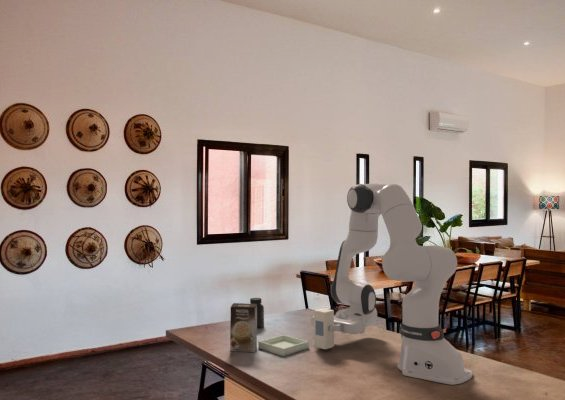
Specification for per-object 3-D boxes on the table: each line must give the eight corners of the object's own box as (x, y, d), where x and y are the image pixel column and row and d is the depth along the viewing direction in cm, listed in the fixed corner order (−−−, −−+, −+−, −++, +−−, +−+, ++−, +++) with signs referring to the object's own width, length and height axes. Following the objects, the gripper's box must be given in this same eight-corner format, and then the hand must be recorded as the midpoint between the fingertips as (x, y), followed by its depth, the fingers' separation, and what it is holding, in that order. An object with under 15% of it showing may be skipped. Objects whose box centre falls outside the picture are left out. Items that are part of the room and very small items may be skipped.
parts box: (334, 346, 175) (333, 310, 175) (324, 349, 171) (324, 312, 171) (323, 343, 178) (323, 308, 179) (314, 346, 175) (313, 310, 175)
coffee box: (229, 351, 173) (229, 306, 173) (232, 346, 179) (232, 302, 180) (254, 352, 172) (254, 307, 172) (257, 347, 179) (257, 303, 179)
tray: (308, 348, 177) (308, 341, 177) (283, 356, 168) (283, 348, 168) (283, 341, 186) (283, 334, 186) (258, 348, 177) (258, 341, 177)
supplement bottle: (257, 323, 213) (257, 296, 213) (267, 326, 208) (267, 298, 208) (244, 326, 209) (244, 298, 209) (254, 329, 204) (254, 300, 204)
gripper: (324, 308, 192) (301, 314, 182) (368, 316, 177) (344, 323, 167) (325, 324, 191) (301, 331, 182) (368, 333, 177) (345, 341, 167)
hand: (322, 327), depth 174 cm, fingers closed on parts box, 5 cm apart
